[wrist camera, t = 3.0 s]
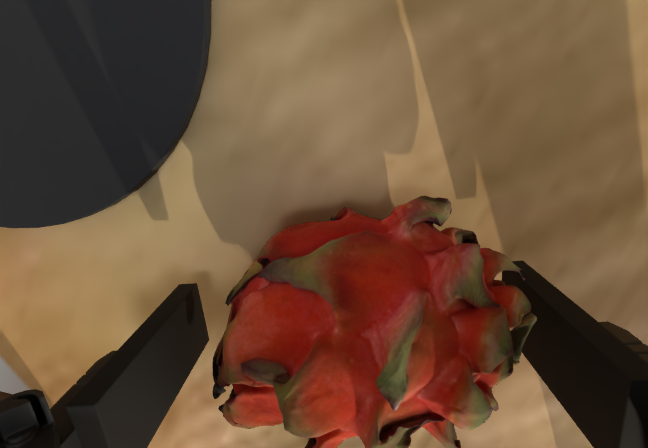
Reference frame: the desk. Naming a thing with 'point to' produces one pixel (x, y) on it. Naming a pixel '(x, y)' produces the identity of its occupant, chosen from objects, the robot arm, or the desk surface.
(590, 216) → the desk surface
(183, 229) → the desk surface
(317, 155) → the desk surface
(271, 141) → the desk surface
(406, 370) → the dragon fruit
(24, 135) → the mat
